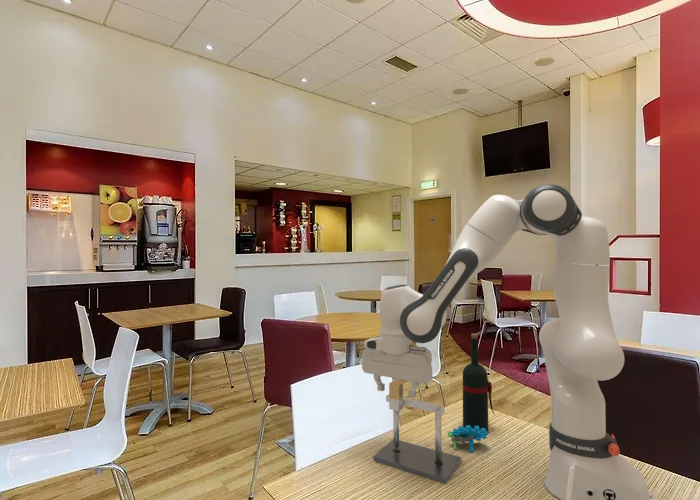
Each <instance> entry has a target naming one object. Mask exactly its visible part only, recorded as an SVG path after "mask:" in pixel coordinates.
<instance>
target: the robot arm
mask: <svg viewBox="0 0 700 500" xmlns="http://www.w3.org/2000/svg"><path fill="white" fill-rule="evenodd" d="M519 231H522V232H526V233H529V234H530V233H531V234H534V235H538V236H548V235H549V236H550V237H551V238H552V239H553V242H554V244H555V245H554V246H555V258H554V259H555V260H554V274H553V275H554V276H553V293H552V294H553V297H554V298H553V299H554V301H555V303H556V308H557V311H558V318H554V319H551V320H548V321H547V322H545V323H544V324H543V325H542V326H541V327H540V330H539V334H538V340H539V343H540V345H541V346H540V347H541V349H542V351H543V356H544V364H545V370H546V374H547V380H548V384H549V393H550V418H551V419H550V421H551V422H550V423H549V428H548V445H549V450H550V452H549V462H548V466H547V471H546V475H545V476H544V481H543V483H544V486H545V488H546V489H547V490H548V491H549V492H550V494H552V495H553V496H555V497H556V498H557V499H559V500H659V499H658V498H657V496H655V494H654V493H652V492H651V491H650V490H649V488H648V484H647V482H646V480H645V478H644V476H643V474H642V472H641V471H640V470H639V469H638V468H637V467H635V465H633V463H630V462H629V461H628V460H627V459H626V458H624V457H623V456H622V455H621V454H620V452H621V451H620V447H619V445H618V444H617V443H618V442H617V440H616V437H615V435H614V433H612V434H611V435H610V434H609V433H607V432H606V431H607V430H606V429H607V428H606V400H605V397H604V394H603V392H602V389H601V388H600V385H599V382H598V381H608V380H611V379H613V378H615V377H617V376H618V375H619V374H620V372H621V371H622V369H623V367H624V365H625V354H624V351H623V348H622V346H621V345H620V343H619V341H618V339H617V337H616V334H615V330H614V326H613V321H612V316H611V311H610V305H609V285H610V284H609V281H610V261H611V259H610V258H611V257H610V256H611V255H610V253H611V251H610V240H609V235H608V228H607V227H606V224H605V223H604V222H603V221H602V220H599V219H598V218H595V217H591V216H583V214H582V211H581V209H580V208H579V206H578V204H577V203H576V201H575V200H574V197H573V196H572V194H571V193H570V192H569V191H568V189H566V188H564V187H563V186H561V185H558V184H554V183H546V184H545V183H544V184H542V185H539V186H536V187H534V188H532V189H531V190H530V191H529V192H528V193H527V194H526V195H525V196H524V198H523V199H519V200H517V199H514V198H512V197H510V196H508V195H504V194H494V195H492V196H490V197H488V199H487V200H486V201H484V203H482V204H481V206H479V207H478V209H477V210H476V211H475V212H474V213H473V215H472V216H471V217H470V218H469V220H468V221H467V222H466V224H465V226H464V227H463V228H462V230H461V232H460V234H459V235H458V237H457V239H456V242H455V243H454V245H453V248H452V250H451V252H450V254H449V257H448V259H447V261H446V263H445V264H444V266H443V268H442V269H441V271H440V272H439V273H438V274H437V276H436V278H434V281H433V282H432V283H431V284H430V286H429V287H428V289H427V290H426V291H425V292H424V294H423V293H420V292H418V291H417V290H414V289H413V288H411V287H410V285H408V284H396V285H392V286H388V287H386V288H384V289H383V290H382V292H381V294H380V301H379V319H380V323H381V324H380V330H379V335H377V336H375V337H371V338H368V339H366V340H364V342H363V347H364V348H365V349H364V350H363V351H362V357H361V369H362V370H363V372H364V373H366V374H369V375H370V374H371V375H373V379H374V382H375V383H376V386H377V387H376V389H377V391H378V392H383V391H385V389H386V384H385V383H383V381H382V379H381V378H382V377H387V378H392V379H396V380H403V381H408V382H411V385H412V386H413V387H412V388H409V390H407V394H408V395H407V396H408V397H407V398H410V399H414V398H416V395H417V389H418V387H419V386H420V385H421V384H423V385H425V384H428V383H430V382H431V381H432V380H433V366H432V361H433V354H432V352H431V350H429V349H428V348H427V347H426V346H417V345H413V342H414V343H416V344H417V343H418V344H427V343H429V342H431V341H434V339H436V337H437V336H438V335H439V332H440V331H441V329H442V328H443V326H445V324H446V322H447V319H448V312H447V309H448V307H449V306H450V305H451V303H452V302H453V300H454V299H455V298H456V296H457V295H458V294H459V293H460V291H461V290H462V288H463V287H464V286H465V285H466V284H467V283H468V281H470V280H471V279H472V278H473V277H474V276H476V275H477V274H478V273H480V272H482V271H483V270H484V269H486V268H487V267H488V266H489V265H490V264H492V262H494V261H495V260H496V259H497V257H499V255H500V254H501V252H502V251H503V250H504V248H505V247H506V246H507V244H508V243H509V242H510V240H511V239H512V238H513V237H514V236H515V235H516V234H517V233H518V232H519Z"/></svg>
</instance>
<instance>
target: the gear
mask: <svg viewBox="0 0 700 500" xmlns="http://www.w3.org/2000/svg"><path fill="white" fill-rule="evenodd" d="M474 428H475V429H473V428H471V426H470V425H466V428H464V427H463V425H459V426H458V427H457V428H453V431H450V430H449V431H447V437H448V438H451V442H452V443H453V450H454V451H455V450H457V442H468V445H469V453H474V452H475V451H474V449H475V448H474V440H475V441H477V442H480V441H481V440H482V439H484V440H485V439H487V436H489V431H488V432H487V431H486V429H485V428H481V430H480V429H479V426H474Z"/></svg>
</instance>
